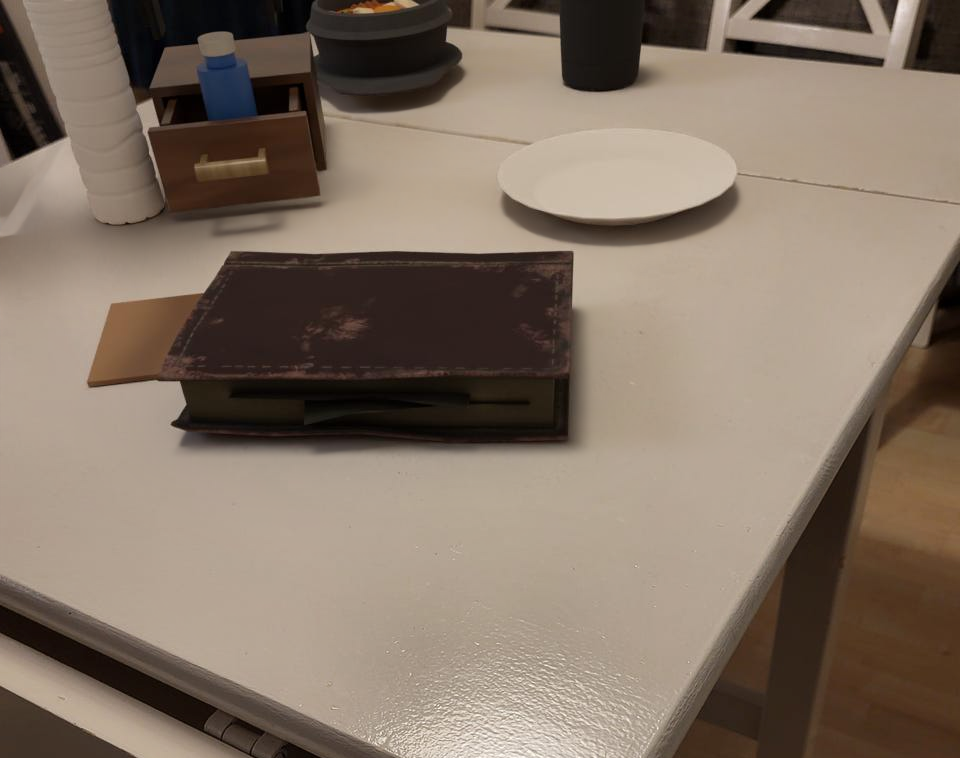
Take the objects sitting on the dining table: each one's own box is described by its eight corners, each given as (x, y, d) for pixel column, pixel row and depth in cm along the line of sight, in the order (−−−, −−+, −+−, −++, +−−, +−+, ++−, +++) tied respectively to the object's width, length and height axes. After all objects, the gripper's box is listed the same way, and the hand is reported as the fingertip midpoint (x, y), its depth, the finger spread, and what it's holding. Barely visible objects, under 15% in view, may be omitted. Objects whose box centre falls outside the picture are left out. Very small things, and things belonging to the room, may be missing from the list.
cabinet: (326, 169, 96) (310, 71, 89) (175, 186, 95) (149, 88, 89) (324, 123, 105) (310, 32, 99) (187, 138, 105) (164, 47, 99)
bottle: (219, 182, 89) (187, 45, 81) (222, 165, 92) (191, 32, 84) (267, 176, 89) (239, 40, 82) (269, 160, 92) (242, 27, 85)
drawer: (320, 214, 85) (306, 131, 80) (165, 231, 85) (141, 148, 80) (318, 148, 97) (306, 72, 93) (182, 163, 97) (162, 87, 92)
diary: (246, 305, 75) (231, 241, 71) (572, 307, 72) (574, 241, 69) (171, 446, 61) (149, 376, 58) (567, 452, 59) (569, 380, 56)
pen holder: (645, 90, 107) (651, -15, 100) (560, 95, 108) (559, -10, 101) (637, 65, 114) (642, -35, 107) (557, 69, 114) (557, -30, 108)
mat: (88, 387, 68) (86, 382, 68) (112, 308, 77) (111, 303, 76) (231, 370, 69) (230, 365, 68) (239, 293, 77) (238, 288, 77)
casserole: (472, 104, 107) (467, 17, 101) (304, 119, 107) (289, 34, 101) (456, 43, 125) (450, -34, 119) (312, 56, 125) (300, -20, 119)
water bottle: (167, 194, 93) (77, -129, 76) (163, 220, 89) (65, -117, 71) (75, 205, 93) (-38, -118, 75) (65, 233, 88) (-57, -105, 71)
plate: (771, 173, 88) (775, 147, 87) (667, 265, 76) (669, 237, 75) (573, 140, 97) (573, 116, 96) (452, 217, 85) (450, 191, 84)
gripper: (275, -250, 74) (317, 7, 86) (46, -227, 73) (120, 29, 85) (273, -245, 68) (318, 29, 80) (25, -220, 68) (108, 53, 80)
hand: (216, 29), depth 83 cm, fingers open, 9 cm apart
